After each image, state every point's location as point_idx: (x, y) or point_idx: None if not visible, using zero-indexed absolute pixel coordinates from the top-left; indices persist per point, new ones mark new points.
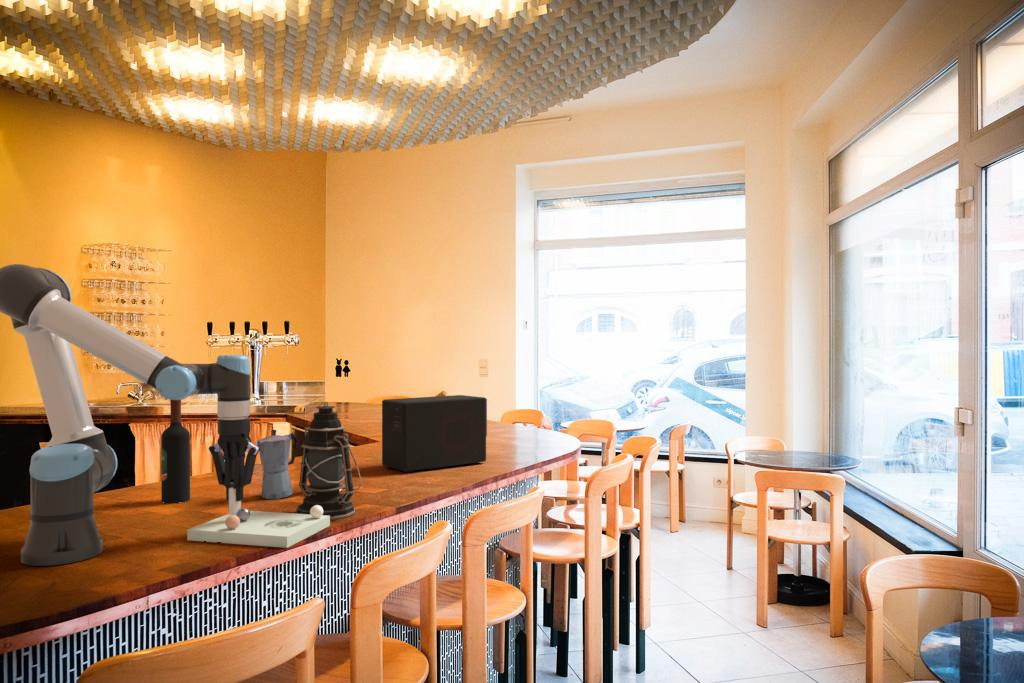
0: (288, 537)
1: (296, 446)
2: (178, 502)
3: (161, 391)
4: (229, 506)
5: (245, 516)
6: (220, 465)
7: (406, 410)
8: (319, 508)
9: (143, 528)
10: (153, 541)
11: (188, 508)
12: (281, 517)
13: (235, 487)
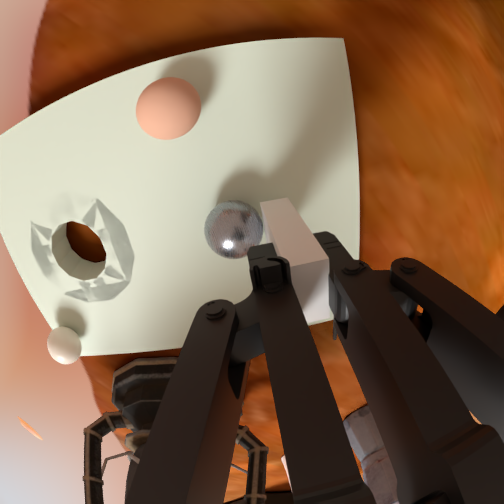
0: None
1: None
2: (498, 313)
3: None
4: (293, 211)
5: (207, 216)
6: (484, 364)
7: None
8: (48, 349)
9: (495, 138)
10: (407, 22)
11: (480, 301)
12: (152, 307)
13: (259, 263)
